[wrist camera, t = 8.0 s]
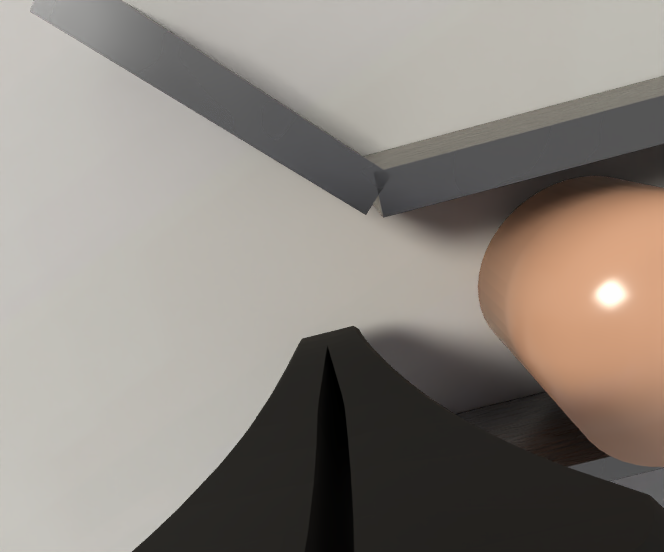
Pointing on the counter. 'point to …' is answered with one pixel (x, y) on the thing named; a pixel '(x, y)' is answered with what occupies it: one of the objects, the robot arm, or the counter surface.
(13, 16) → the counter surface
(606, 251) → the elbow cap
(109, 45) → the gray zigzag divider
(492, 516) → the robot arm
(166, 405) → the counter surface
